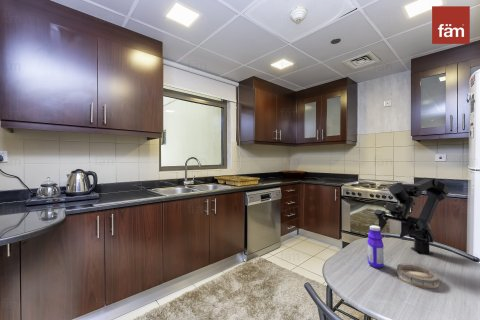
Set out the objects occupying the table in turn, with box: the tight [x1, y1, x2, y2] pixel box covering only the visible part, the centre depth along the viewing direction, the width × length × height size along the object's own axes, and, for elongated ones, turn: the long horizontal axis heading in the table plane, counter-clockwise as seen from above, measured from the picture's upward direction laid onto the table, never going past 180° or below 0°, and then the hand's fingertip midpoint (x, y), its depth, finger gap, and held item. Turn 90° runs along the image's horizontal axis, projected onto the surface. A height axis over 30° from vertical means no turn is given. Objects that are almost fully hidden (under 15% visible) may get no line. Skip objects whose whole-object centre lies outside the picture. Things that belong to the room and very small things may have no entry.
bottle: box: [366, 224, 385, 269], centre depth 98 cm, size 7×6×17 cm
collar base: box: [396, 262, 440, 290], centre depth 87 cm, size 13×13×3 cm
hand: (389, 234), depth 99 cm, fingers open, 9 cm apart
